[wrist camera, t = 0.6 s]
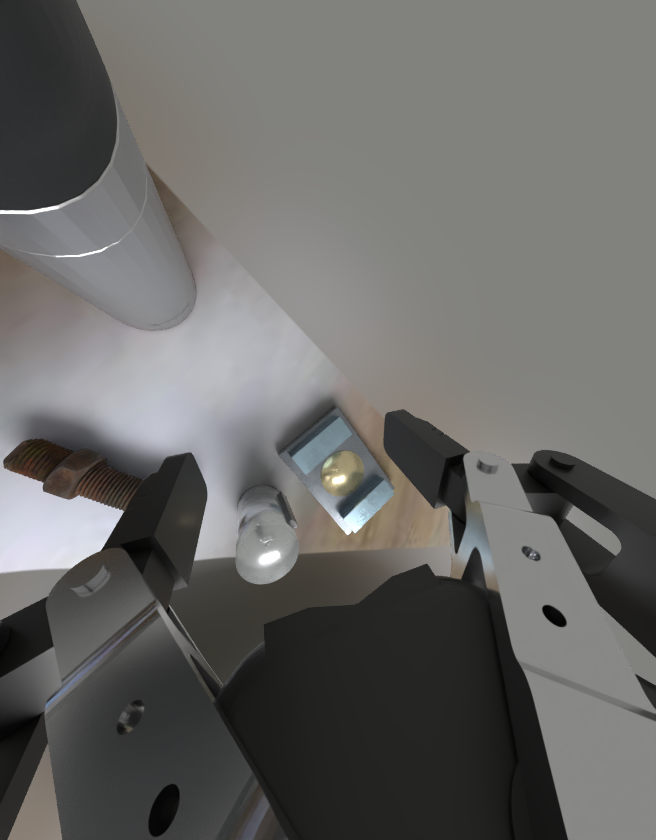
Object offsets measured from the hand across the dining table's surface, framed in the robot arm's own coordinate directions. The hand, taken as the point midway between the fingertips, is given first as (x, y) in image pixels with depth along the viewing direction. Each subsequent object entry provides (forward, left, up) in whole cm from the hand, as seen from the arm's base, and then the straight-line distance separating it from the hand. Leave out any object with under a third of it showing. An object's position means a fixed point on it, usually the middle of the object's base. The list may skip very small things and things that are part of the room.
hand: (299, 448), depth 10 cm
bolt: (-3, -16, -21) cm, 27 cm away
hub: (+9, -8, -21) cm, 24 cm away
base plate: (+13, +3, -21) cm, 25 cm away
